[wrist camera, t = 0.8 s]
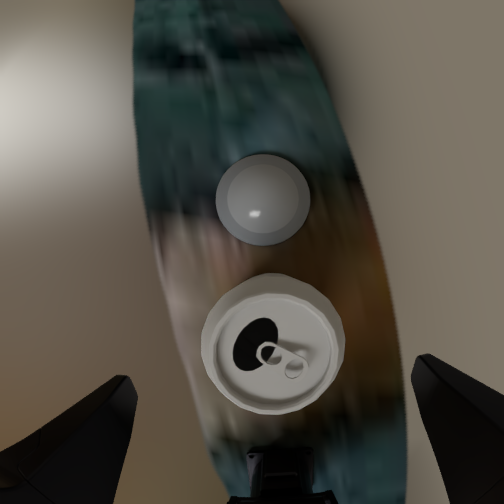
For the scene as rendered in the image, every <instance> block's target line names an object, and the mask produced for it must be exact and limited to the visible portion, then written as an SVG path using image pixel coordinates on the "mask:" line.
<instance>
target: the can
mask: <svg viewBox="0 0 504 504" xmlns="http://www.w3.org/2000/svg"><path fill="white" fill-rule="evenodd" d="M344 349H345V335H344V331H343V326H342V322H341V318H340V316H339V315H338V313H337V312H336V310H335V308H334V307H333V305H332V304H331V302H330V301H329V299H328V298H326V297H325V296H324V295H323V294H321V293H320V292H319V291H318V290H316V289H315V288H314V287H313V286H311V285H309V284H307V283H304V282H302V281H300V280H297V279H295V278H292V277H289V276H287V275H284V274H280V273H265V274H262V275H258V276H254V277H252V278H250V279H248V280H246V281H244V282H242V283H241V284H239V285H238V286H236V287H235V288H233V289H232V290H230V291H229V292H227V293H226V294H224V295H223V296H222V297H221V298H220V300H219V301H218V302H217V303H216V305H215V306H214V307H213V308H212V310H211V311H210V312H209V314H208V317H207V320H206V322H205V325H204V328H203V331H202V334H201V356H202V359H203V362H204V365H205V368H206V371H207V374H208V376H209V377H210V379H211V380H212V381H213V383H214V384H215V385H216V387H217V388H218V389H219V391H220V392H221V393H223V395H224V396H225V397H227V398H228V399H229V400H231V401H232V402H234V403H235V404H236V405H238V406H239V407H241V408H243V409H246V410H249V411H252V412H255V413H258V414H273V415H281V414H285V413H289V412H293V411H297V410H300V409H302V408H303V407H305V406H307V405H308V404H310V403H312V402H314V401H315V400H317V399H318V398H319V396H320V395H321V394H322V393H323V392H324V391H325V390H326V389H327V388H328V387H329V386H330V384H331V383H332V382H333V381H334V379H335V377H336V375H337V373H338V371H339V369H340V366H341V364H342V362H343V358H344Z"/></svg>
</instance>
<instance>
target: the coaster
mask: <svg viewBox="0 0 504 504" xmlns="http://www.w3.org/2000/svg"><path fill="white" fill-rule="evenodd" d="M216 207H217V212H218V215H219V217H220V220H221V221H222V223H223V225H224V226H225V227H226V229H227V230H228V231H229V232H230V233H231V234H232V235H233V236H235V237H236V238H237V239H239V240H241V241H243V242H245V243H248V244H251V245H257V246H270V245H275V244H278V243H281V242H283V241H285V240H287V239H289V238H290V237H292V236H293V235H294V234H295V233H296V232H297V231H298V230H299V229H300V228H301V226H302V225H303V223H304V221H305V220H306V218H307V215H308V212H309V208H310V192H309V188H308V185H307V182H306V180H305V178H304V176H303V175H302V173H301V172H300V171H299V170H298V169H297V168H296V167H295V166H294V165H293V164H292V163H290V162H289V161H287V160H285V159H283V158H280V157H278V156H274V155H267V154H258V155H252V156H249V157H246V158H243V159H241V160H239V161H238V162H236V163H235V164H233V165H232V166H231V167H230V168H229V169H228V170H227V171H226V172H225V174H224V175H223V177H222V178H221V180H220V183H219V185H218V188H217V193H216Z"/></svg>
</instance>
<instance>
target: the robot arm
mask: <svg viewBox="0 0 504 504" xmlns="http://www.w3.org/2000/svg"><path fill="white" fill-rule="evenodd" d="M411 382H412V386H413V389H414V392H415V396H416V400H417V403H418V407H419V411H420V414H421V418H422V421H423V424H424V427H425V429H426V432H427V434H428V437H429V440H430V443H431V445H432V448H433V451H434V454H435V457H436V460H437V463H438V466H439V469H440V472H441V475H442V478H443V481H444V485H445V488H446V491H447V495H448V498H449V501H450V504H504V395H503V394H501V393H499V392H497V391H495V390H494V389H491V388H490V387H488V386H486V385H485V384H483V383H481V382H479V381H477V380H475V379H474V378H472V377H470V376H468V375H467V374H465V373H463V372H461V371H460V370H458V369H456V368H454V367H452V366H451V365H449V364H447V363H445V362H444V361H441V360H440V359H438V358H436V357H435V356H433V355H431V354H423V355H419V356H418V357H417V358H416V360H415V364H414V367H413V370H412V374H411ZM137 400H138V396H137V392H136V390H135V388H134V385H133V383H132V381H131V379H130V377H128V376H127V375H116V376H114V377H113V378H112V379H110V380H109V381H107V382H106V383H104V384H103V385H101V386H100V387H99V388H97V389H96V390H94V391H93V392H92V393H90V394H89V395H87V396H86V397H84V398H83V399H82V400H80V401H79V402H77V403H76V404H75V405H73V406H72V407H70V408H69V409H67V410H66V411H64V412H63V413H62V414H60V415H59V416H57V417H56V418H54V419H53V420H51V421H50V422H48V423H47V424H45V425H44V426H43V427H41V428H40V429H38V430H37V431H35V432H34V433H32V434H30V435H29V436H28V437H26V438H24V439H23V440H21V441H19V442H17V443H16V444H14V445H12V446H10V447H9V448H6V449H4V450H3V451H1V452H0V504H113V502H114V497H115V494H116V490H117V486H118V482H119V478H120V474H121V471H122V467H123V463H124V460H125V456H126V453H127V449H128V446H129V442H130V438H131V434H132V428H133V422H134V417H135V411H136V405H137ZM307 451H310V452H309V453H306V452H307ZM250 455H254V456H250ZM247 465H248V473H249V482H250V490H251V494H250V497H237V496H231V497H230V500H229V502H227V504H338V502H337V500H336V498H335V496H334V494H333V492H332V490H327V491H325V492H320V493H313V490H312V484H313V449H312V448H311V447H305V448H295V449H278V450H264V451H249V452H248V453H247Z"/></svg>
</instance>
